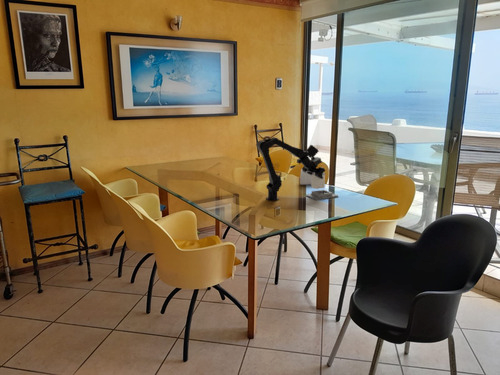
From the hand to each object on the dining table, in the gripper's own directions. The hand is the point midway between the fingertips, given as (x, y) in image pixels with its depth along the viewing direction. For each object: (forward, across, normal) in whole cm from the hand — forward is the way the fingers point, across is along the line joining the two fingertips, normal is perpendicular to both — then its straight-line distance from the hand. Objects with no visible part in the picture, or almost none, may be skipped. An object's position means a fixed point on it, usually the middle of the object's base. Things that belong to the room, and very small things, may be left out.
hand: (320, 177), depth 250 cm
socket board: (+7, -5, +10) cm, 13 cm away
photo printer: (+15, +28, +1) cm, 32 cm away
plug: (+4, 0, +6) cm, 7 cm away
